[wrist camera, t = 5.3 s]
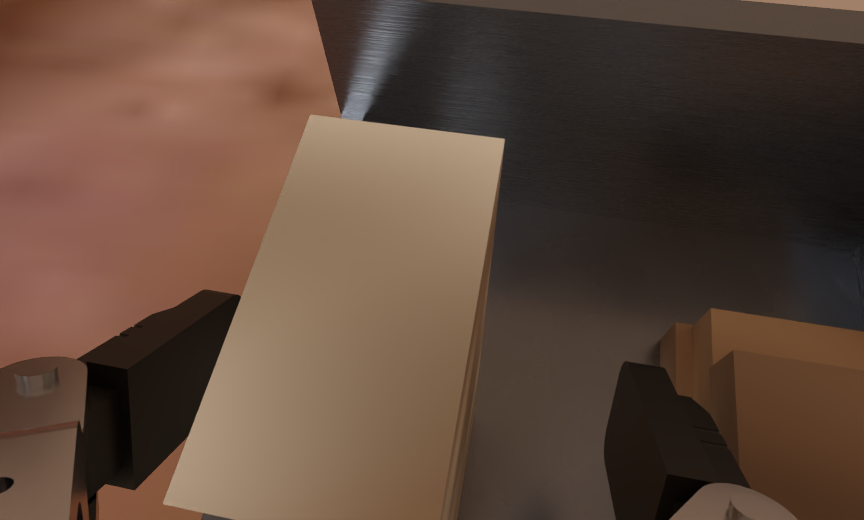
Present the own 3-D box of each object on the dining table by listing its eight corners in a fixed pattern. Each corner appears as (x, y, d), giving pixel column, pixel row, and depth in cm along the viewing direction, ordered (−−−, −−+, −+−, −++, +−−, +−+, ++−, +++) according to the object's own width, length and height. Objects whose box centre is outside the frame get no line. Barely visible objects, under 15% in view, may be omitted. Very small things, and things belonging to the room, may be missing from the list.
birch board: (450, 564, 17) (432, 563, 5) (372, 546, 17) (162, 502, 5) (473, 413, 19) (504, 139, 7) (403, 400, 19) (310, 114, 7)
